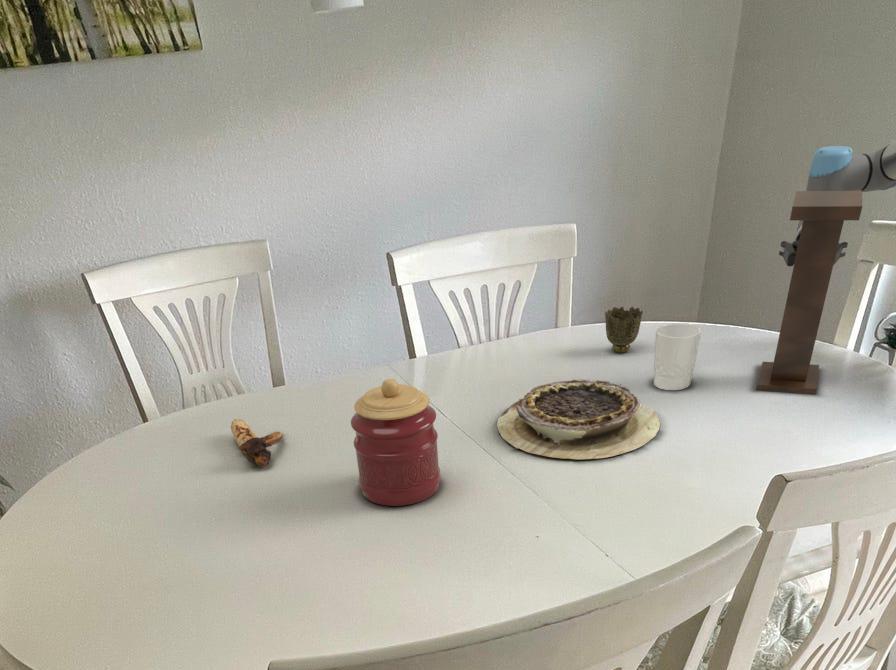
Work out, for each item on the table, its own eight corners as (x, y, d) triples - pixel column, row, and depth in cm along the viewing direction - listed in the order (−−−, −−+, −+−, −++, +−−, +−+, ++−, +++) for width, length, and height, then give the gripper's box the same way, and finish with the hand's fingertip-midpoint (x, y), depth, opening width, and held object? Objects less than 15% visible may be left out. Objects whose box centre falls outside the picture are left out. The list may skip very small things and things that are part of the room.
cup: (599, 355, 162) (601, 316, 157) (606, 344, 168) (609, 305, 163) (635, 358, 160) (639, 317, 155) (641, 345, 165) (645, 306, 160)
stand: (818, 370, 148) (862, 190, 129) (815, 394, 139) (862, 206, 120) (761, 366, 151) (796, 191, 132) (756, 390, 143) (792, 206, 124)
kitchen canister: (403, 461, 132) (392, 357, 121) (457, 484, 124) (452, 375, 113) (344, 491, 125) (327, 383, 114) (397, 516, 118) (385, 404, 107)
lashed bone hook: (299, 463, 136) (271, 425, 148) (296, 438, 133) (267, 401, 145) (247, 475, 133) (223, 435, 146) (242, 450, 130) (218, 411, 143)
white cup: (642, 381, 150) (647, 328, 144) (677, 373, 152) (683, 320, 146) (666, 395, 144) (673, 340, 138) (702, 386, 146) (710, 332, 140)
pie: (691, 432, 132) (695, 403, 128) (557, 477, 123) (558, 447, 120) (589, 383, 152) (591, 357, 149) (468, 419, 143) (467, 392, 140)
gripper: (782, 220, 169) (774, 248, 152) (855, 220, 164) (855, 250, 147) (775, 258, 173) (766, 289, 157) (845, 259, 168) (844, 291, 152)
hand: (809, 270), depth 152 cm, fingers closed
